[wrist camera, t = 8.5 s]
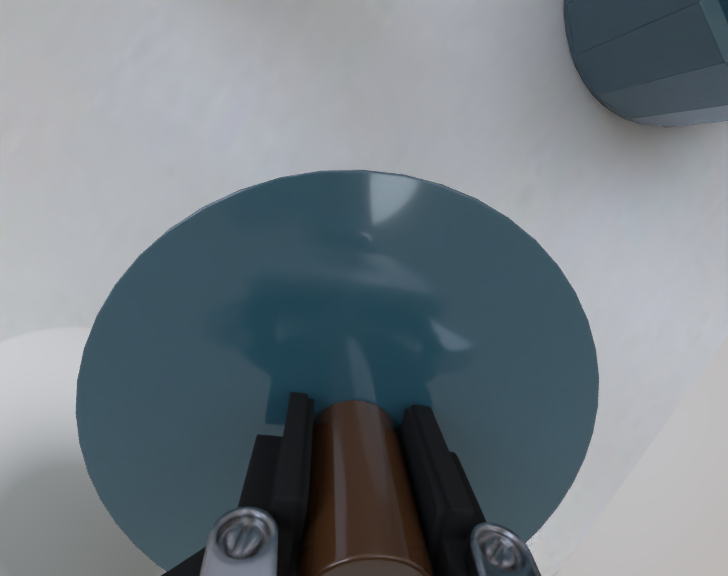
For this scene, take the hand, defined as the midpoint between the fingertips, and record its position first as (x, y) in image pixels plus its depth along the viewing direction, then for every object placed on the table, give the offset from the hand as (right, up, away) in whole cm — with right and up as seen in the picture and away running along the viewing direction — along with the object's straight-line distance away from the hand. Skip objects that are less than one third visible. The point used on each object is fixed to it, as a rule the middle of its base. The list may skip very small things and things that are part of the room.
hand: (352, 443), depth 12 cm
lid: (0, 0, +1) cm, 1 cm away
